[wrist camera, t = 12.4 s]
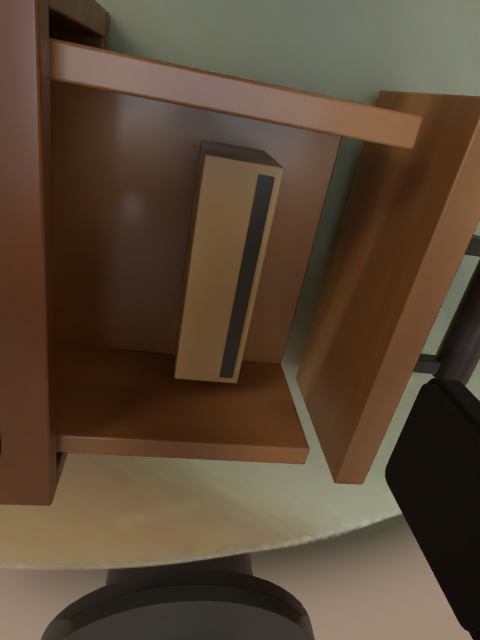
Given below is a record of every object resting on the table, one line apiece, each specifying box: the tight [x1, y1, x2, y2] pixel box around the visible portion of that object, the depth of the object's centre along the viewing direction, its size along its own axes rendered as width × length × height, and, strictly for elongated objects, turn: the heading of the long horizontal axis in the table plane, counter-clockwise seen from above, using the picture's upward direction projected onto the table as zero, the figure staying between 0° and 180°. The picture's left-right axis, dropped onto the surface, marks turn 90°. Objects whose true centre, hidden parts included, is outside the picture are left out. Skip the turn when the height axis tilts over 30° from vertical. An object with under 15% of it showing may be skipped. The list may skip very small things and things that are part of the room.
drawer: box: [49, 38, 480, 484], centre depth 16 cm, size 18×13×7 cm
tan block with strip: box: [174, 140, 284, 383], centre depth 16 cm, size 2×8×4 cm, turn 169°
